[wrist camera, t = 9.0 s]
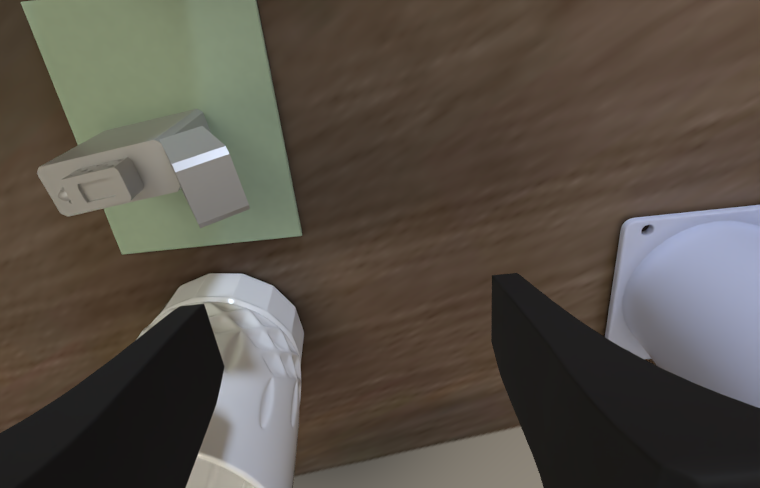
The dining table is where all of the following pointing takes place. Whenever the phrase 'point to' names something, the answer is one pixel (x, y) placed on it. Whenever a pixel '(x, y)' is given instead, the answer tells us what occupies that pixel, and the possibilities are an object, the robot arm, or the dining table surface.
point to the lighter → (148, 169)
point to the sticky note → (174, 103)
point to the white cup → (248, 382)
